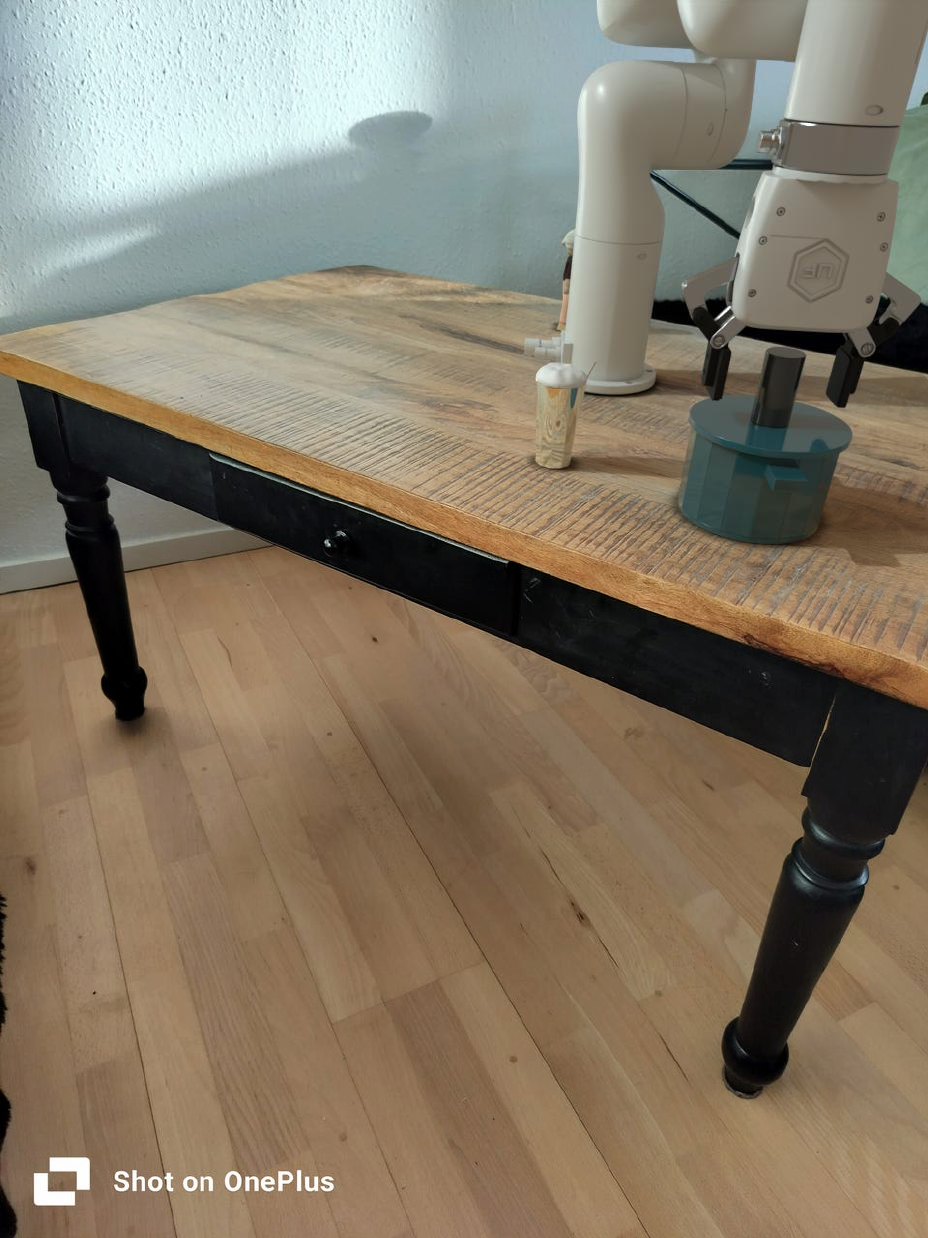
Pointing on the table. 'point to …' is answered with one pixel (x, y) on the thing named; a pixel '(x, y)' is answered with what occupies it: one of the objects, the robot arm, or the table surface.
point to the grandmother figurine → (566, 278)
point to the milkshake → (558, 412)
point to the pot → (753, 493)
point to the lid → (772, 416)
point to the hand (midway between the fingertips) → (773, 398)
